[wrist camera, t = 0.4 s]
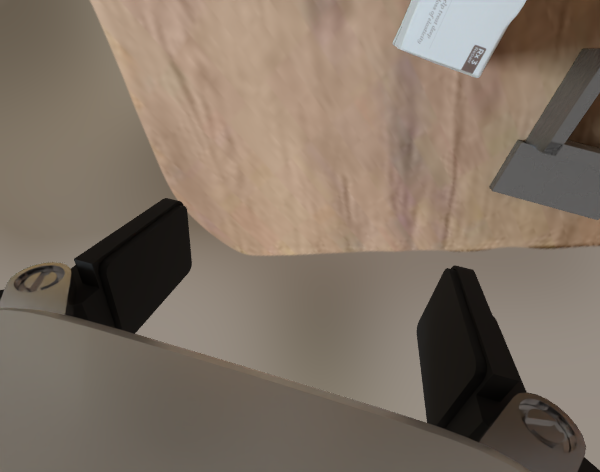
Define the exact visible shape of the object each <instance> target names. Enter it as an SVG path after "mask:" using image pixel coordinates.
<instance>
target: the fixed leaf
mask: <svg viewBox="0 0 600 472" xmlns="http://www.w3.org/2000/svg"><path fill="white" fill-rule="evenodd" d="M599 93H600V49H582V50H581V52H580V54H579V55H578V57H577V58H576V60H575V62H574V63H573V65H572V67H571V68H570V70H569V71H568V73H567V75H566V76H565V78H564V80H563V81H562V83H561V84H560V86H559V88H558V89H557V91H556V92H555V94H554V96H553V97H552V99H551V101H550V102H549V104H548V105H547V107H546V109H545V110H544V112H543V114H542V115H541V117H540V118H539V120H538V122H537V123H536V125H535V126H534V128H533V130H532V131H531V133H530V135H529V136H528V138H527V139H526V141H525V142H524V141H520V140H517V142H516V144H515V145H514V147H513V148H512V150H511V152H510V153H509V155H508V157H507V158H506V160H505V162H504V163H503V165H502V167H501V168H500V170H499V172H498V173H497V175H496V177H495V178H494V180H493V182H492V183H491V185H490V189H491V190H492V191H494V192H498V193H502V194H505V195H509V196H512V197H516V198H520V199H523V200H527V201H531V202H534V203H538V204H541V205H545V206H549V207H552V208H556V209H559V210H563V211H567V212H570V213H574V214H578V215H581V216H585V217H588V218H592V219H596V220H599V218H600V148H597V147H593V146H589V145H585V144H581V143H577V142H573V141H569V140H567V139H568V138H569V136H570V135H571V133H572V132H573V130H574V129H575V128H576V126H577V125H578V123H579V122H580V120H581V119H582V117H583V116H584V115H585V113H586V112H587V110H588V109H589V107H590V106H591V104H592V103H593V102H594V100H595V99H596V97H597V96H598V94H599Z"/></svg>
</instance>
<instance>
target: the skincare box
mask: <svg viewBox="0 0 600 472" xmlns="http://www.w3.org/2000/svg"><path fill="white" fill-rule="evenodd" d="M525 2H526V0H411V3H410V5H409V7H408V10H407V12H406V14H405V17H404V19H403V21H402V24H401V26H400V28H399V30H398V33H397V35H396V37H395V39H394V41H393V45H394V46H396V47H397V48H398V49H400V50H402V51H405V52H407V53H410V54H412V55H415V56H417V57H420V58H423V59H425V60H428V61H430V62H433V63H436V64H439V65H441V66H444V67H447V68H450V69H453V70H455V71H458V72H461V73H464V74H467V75H470V76H473V77H475V78H479V77H480V76H481V74H482V72H483V70H484V69H485V67H486V65H487V63H488V61H489V60H490V58H491V56H492V54H493V52H494V50H495V49H496V47H497V45H498V43H499V42H500V40H501V38H502V36H503V35H504V33H505V31H506V29H507V28H508V26H509V24H510V23H511V21H512V20H513V19H514V18H515V17H516V16H517V15H518V13H519V12H520V10H521V9H522V7H523V6H524V4H525Z"/></svg>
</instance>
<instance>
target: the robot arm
mask: <svg viewBox="0 0 600 472" xmlns="http://www.w3.org/2000/svg"><path fill="white" fill-rule="evenodd" d="M74 261H75V263H76V265H75V266H74V267H73V268H70V267H69V266H68V265H66V264H63V263H57V262H47V263H41V264H36V265H33V266H30V267H27V268H25V269H23V270H21V271H19V272H18V273H16V274H15V275H14V276H12V277H11V278H10V279H9V281H8V282H7V284H6V287H5V289H4V290H0V472H600V470H598V469H597V468H596V467H595V466H594V465H593V464H591V463H590V462H589V461H588V460H587V459H586V458H585V457H584V455H585V450H586V445H585V442H584V438H583V436H582V434H581V432H580V431H579V429H578V427H577V426H576V424H575V423H574V422H573V421H572V420H571V419H570V417H569V416H568V415H567V414H566V413H565V412H564V411H562V410H561V409H560V408H559V407H558V406H557V405H555V404H553V403H552V402H550V401H549V400H547V399H545V398H543V397H541V396H539V395H536V394H532V393H527V392H526V390H525V388H524V385H523V383H522V381H521V378H520V376H519V373H518V371H517V368H516V366H515V364H514V361H513V359H512V356H511V354H510V352H509V349H508V347H507V345H506V342H505V340H504V338H503V335H502V333H501V330H500V328H499V325H498V323H497V321H496V319H495V318H494V317H493V316H492V313H491V311H490V308H489V306H488V304H487V301H486V299H485V296H484V294H483V291H482V289H481V286H480V284H479V282H478V279H477V277H476V274H475V272H474V271H473V270H471V269H467V268H463V267H459V266H453V267H452V268H451V269H448V268H447V269H445V271H444V272H443V274H442V276H441V279H440V280H439V282H438V285H437V286H436V288H435V291H434V292H433V295H432V296H431V298H430V301H429V302H428V305H427V307H426V308H425V310H424V312H423V315H422V316H421V318H420V320H419V323H418V326H417V340H418V348H419V357H420V366H421V374H422V382H423V391H424V400H425V408H426V417H427V423H425V422H422V421H419V420H416V419H413V418H410V417H407V416H404V415H401V414H398V413H395V412H391V411H388V410H385V409H382V408H379V407H376V406H373V405H369V404H366V403H363V402H360V401H356V400H353V399H350V398H347V397H343V396H340V395H337V394H334V393H330V392H327V391H324V390H321V389H317V388H314V387H311V386H307V385H304V384H301V383H298V382H295V381H291V380H288V379H285V378H281V377H278V376H275V375H271V374H268V373H265V372H261V371H258V370H255V369H251V368H248V367H245V366H242V365H238V364H235V363H231V362H228V361H224V360H222V359H218V358H215V357H211V356H208V355H205V354H201V353H198V352H195V351H191V350H188V349H185V348H181V347H178V346H174V345H171V344H168V343H164V342H161V341H157V340H154V339H151V338H147V337H144V336H141V335H137V334H135V333H136V332H137V331H138V329H139V328H140V327H141V326H142V325H143V324H144V323H145V322H146V320H147V319H148V318H149V317H150V316H151V315H152V314H153V312H154V311H155V310H156V309H157V308H158V307H159V305H161V303H162V302H163V301H164V300H165V299H166V298H167V296H168V295H169V294H170V293H171V292H172V291H173V290H174V289H175V287H176V286H177V285H178V284H179V283H180V282H181V281H182V279H183V278H184V277H185V276H186V275H187V274H188V273H189V271H190V269H191V265H192V261H191V249H190V238H189V227H188V216H187V209H186V207H185V206H183V203H182V202H181V201H177V200H172V199H168V198H165V199H163V200H161V201H160V202H158V203H157V204H155V205H154V206H152V207H151V208H149V209H148V210H146V211H145V212H143V213H142V214H140V215H139V216H137V217H136V218H134V219H133V220H131V221H130V222H128V223H127V224H125V225H124V226H122V227H121V228H119V229H118V230H116V231H115V232H113V233H112V234H110V235H109V236H108V237H106V238H104V239H103V240H102V241H100V242H99V243H97V244H96V245H94V246H93V247H91V248H90V249H88V250H87V251H85V252H84V253H82V254H81V255H79V256H78V257H76V258H75V259H74Z"/></svg>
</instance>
